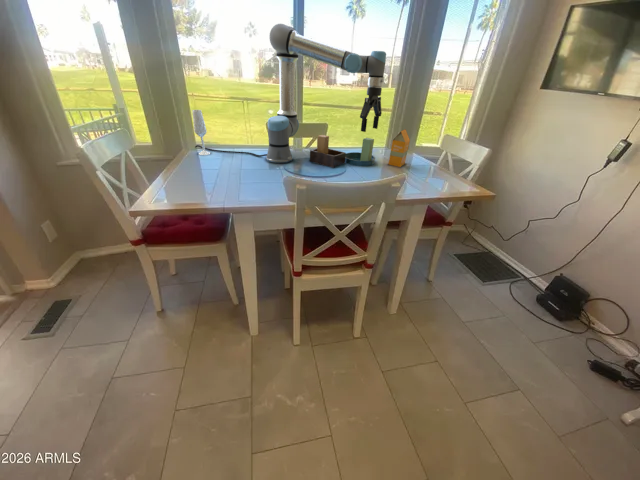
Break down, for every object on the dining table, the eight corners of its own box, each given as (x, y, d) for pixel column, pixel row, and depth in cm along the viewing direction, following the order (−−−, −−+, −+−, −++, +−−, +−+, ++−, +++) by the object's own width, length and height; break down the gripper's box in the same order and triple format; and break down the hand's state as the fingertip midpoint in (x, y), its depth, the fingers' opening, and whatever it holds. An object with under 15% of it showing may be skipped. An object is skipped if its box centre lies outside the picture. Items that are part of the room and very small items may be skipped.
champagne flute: (208, 155, 163) (200, 111, 150) (196, 154, 163) (188, 110, 150) (212, 152, 168) (205, 109, 155) (201, 151, 168) (193, 109, 155)
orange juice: (404, 164, 167) (412, 130, 156) (400, 167, 161) (407, 132, 150) (392, 161, 170) (399, 128, 160) (387, 165, 164) (394, 130, 153)
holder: (309, 161, 163) (310, 150, 159) (321, 157, 171) (322, 146, 167) (333, 168, 154) (334, 156, 150) (344, 163, 162) (345, 152, 158)
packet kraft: (316, 159, 164) (317, 135, 156) (321, 158, 167) (322, 134, 159) (323, 161, 161) (324, 137, 154) (327, 160, 164) (329, 136, 157)
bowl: (337, 162, 164) (337, 156, 162) (353, 156, 177) (354, 150, 175) (364, 169, 155) (365, 163, 153) (379, 162, 168) (380, 156, 166)
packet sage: (359, 162, 163) (363, 138, 156) (363, 161, 166) (366, 137, 159) (367, 164, 161) (370, 140, 153) (370, 163, 164) (374, 139, 156)
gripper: (369, 88, 132) (363, 134, 143) (391, 86, 149) (385, 128, 160) (356, 86, 135) (351, 131, 147) (379, 86, 152) (373, 126, 164)
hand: (369, 130), depth 153 cm, fingers open, 13 cm apart
